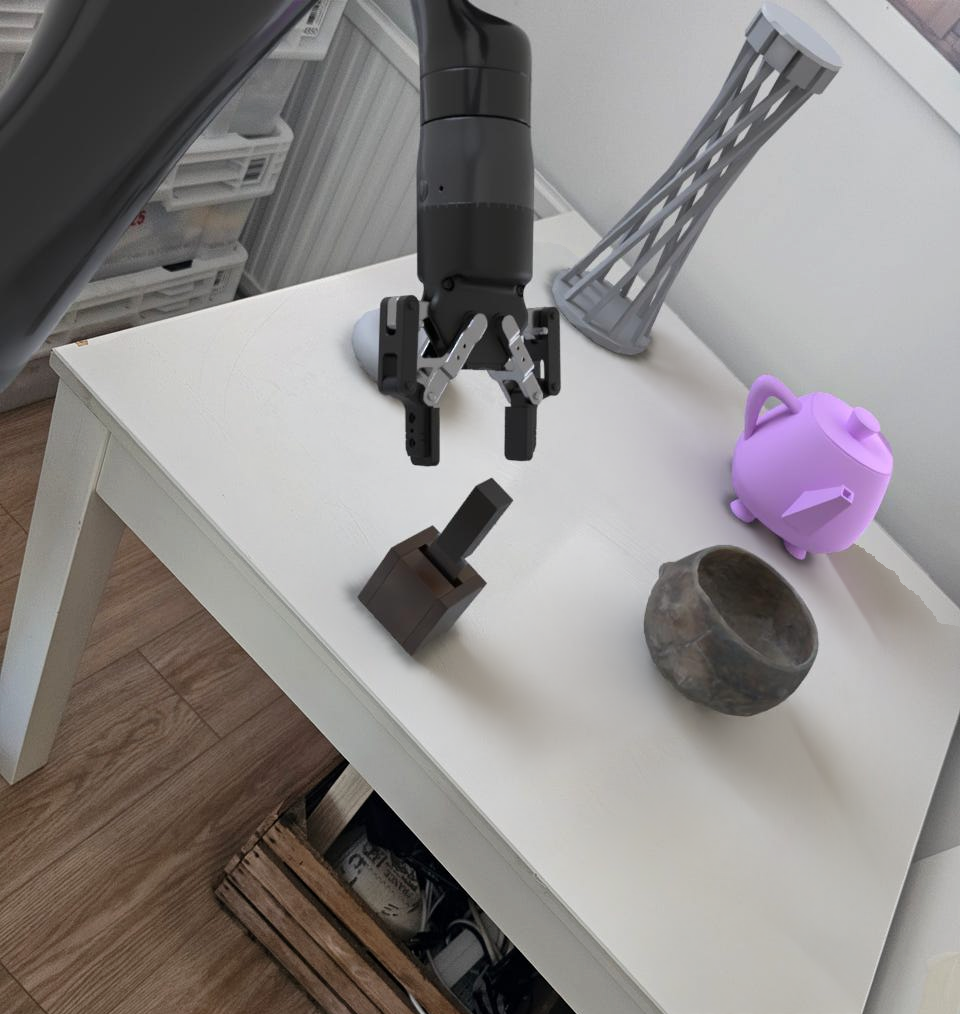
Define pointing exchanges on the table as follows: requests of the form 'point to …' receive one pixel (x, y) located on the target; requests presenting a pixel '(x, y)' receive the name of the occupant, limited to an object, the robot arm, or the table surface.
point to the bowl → (729, 631)
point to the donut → (372, 341)
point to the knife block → (418, 593)
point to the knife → (467, 528)
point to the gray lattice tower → (697, 180)
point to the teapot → (809, 468)
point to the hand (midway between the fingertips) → (473, 463)
